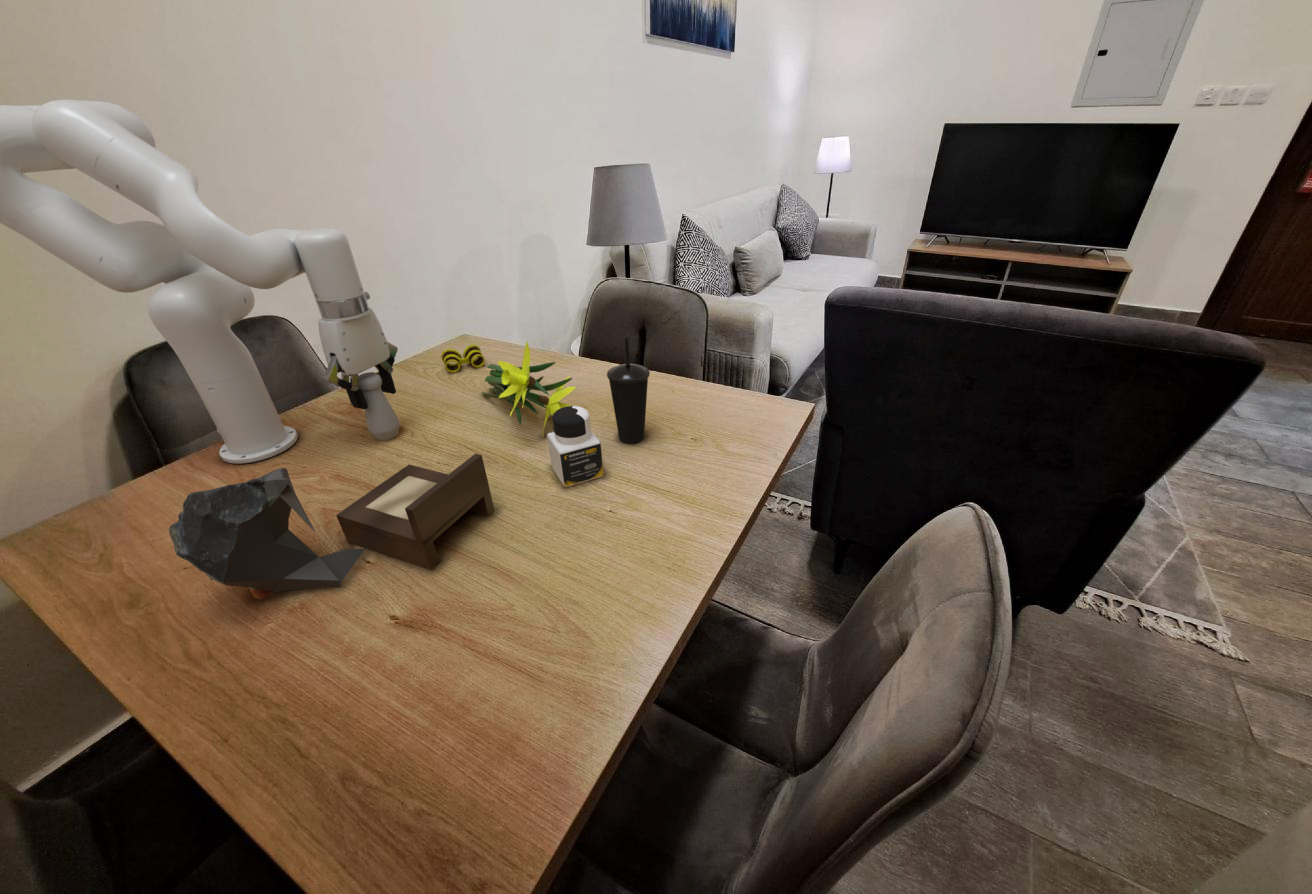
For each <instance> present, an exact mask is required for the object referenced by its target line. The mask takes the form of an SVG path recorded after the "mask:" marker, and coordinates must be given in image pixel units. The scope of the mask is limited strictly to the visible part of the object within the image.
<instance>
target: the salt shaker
mask: <svg viewBox="0 0 1312 894" xmlns="http://www.w3.org/2000/svg"><path fill="white" fill-rule="evenodd" d="M381 385H382V379H381V377H380V375H379V374H377V372H375V371H369V372H364V373H363V372H362V373H360V374H358V388H359V389H362V391H363V394H364V397H365V399H366V402H367V405H368V408H367V409H365V410H364V414H365V420H366V427H367V431H368V432H369V433H370V435H372V436H373V437H374V439H376V440H379V441H381V442H382V441H388V440H392V439H394V438H395V437H397V436H398V435H399V434H400V433H399V432H400V427H401V426H400V425H401V420H400V418H399V417H398V415H397V413H396V412H395V410H394V408H393V407H392V405H391V403H390V402H389V400H388V398H387V397H386V395H385V392H383V391H382V390H381V387H380V386H381Z"/></svg>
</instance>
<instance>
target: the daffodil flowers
mask: <svg viewBox="0 0 1312 894" xmlns="http://www.w3.org/2000/svg"><path fill="white" fill-rule="evenodd" d="M530 364H531V349H530V346H529V342H528V341H525V345H524V351H523V356H522V362H521V366H517V365H515V364H513V363H510V362H507V361H502V360H497V364H494V363H489V364H488V365H487V367H486V368H487V369H491V370H490V371H489V375H486V377H485V379H484V382H487V383H488V385H490V387H489V388H488V390H489V391H491V392H493V393H495V394H493V393H487V392H484V391H483V392H482V391H481V392H480V393H481V395H483V396H486V397H490V398H495V399H499V400H500V401H501V400H506V401H507V402H508V404H510V405H511V406H512V409H511V411H510V413H509V417H511V416H512V414H513V412H514V411H515V415H516V418H517V421H518V425H519V426H522V421H523V414H522V410H521V409H520V408H519V407H518V406H517V405H518V403H520V404H522V406H521V407H522V409H523V408H524V406H525V407H526V408H527V409H528V410H530V411H531V412H533V413H534V414H535V415H538V416H539V412H538V411H537V409H536V408H535V407H534V406H533V404H532V403H534V404H535V405H537V406H539V407H541V408H544V409H545V411H544V413H545V414H544V415H545V416H544V421H543V429H542V435H541V436H542V438H543V437H544V434H545V431H544V430H545V426H546V423H547V420H548V418H550V415H551V416H552V415H553V414H554V413H555V411H557V410H558V409H560V408H563V407H567V406H572V405H571V404H570V403H564V402H560V401H561V400H563V399H564V398H566V396H568V395H569V394H570V393H571V392H573V391H574V390H575V389H576V388H577V386H568V387H565V385H566V384H567V383H569V382H570V381H572V380H573V377H571V375H568V376H567V377H565V378H564V379H563V380H560V381H558V382H554V383H550V384H545V385H542V384H540V382H541V381H542V380H543V379H544V378H545V376H544V375H542V376H540V377H538V378H536V379H535V377H534V376H531V375H530V373H531V374H532V373H540V372H542V371H544V370H546V369H547V370H548V369H549V368H550V367H552V366H554V365H555V364H556V361H552V362H551V361H550V362H547V363H542V364H536V365H530ZM491 387H493V388H491ZM553 390H555V391H553ZM532 391H538V392H542V393H543V394H545V395H542V394H538V393H535V392H532ZM549 391H553V393H552V394H551V396H550V394H549ZM546 395H547V396H546ZM548 396H549V397H548ZM513 401H514V402H513ZM529 401H530V402H529Z"/></svg>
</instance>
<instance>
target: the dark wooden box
mask: <svg viewBox="0 0 1312 894" xmlns="http://www.w3.org/2000/svg"><path fill="white" fill-rule="evenodd" d="M488 480H489V479H488V475H487V471H486V466H485V463H484V458H483V455H482V454H480V453H474V454H472V455H471V456H470V457H469V458H467V460H465V461H464V462H463V463H461V464H460V465H459V466H457V467H456V468H455V469H453V470H452V471H450V473H444V472H441V471H438V470H433V469H429V468H425V467H421V466H418V465H413V464H407V465H405V466H404V467H403V468H401V469H400V470H399V471H397V472H396V473H394V474H392V475H391V476H389V478H387V479H386V480H384V481H383V482H381V483H379V485H377V486H375V487H374V488H373V489H371V490H370V491H368V492H367V493H365V494H364V495H362V496H361V497H360V498H358V499H357V500H356V501H354V502H352V503H351V504H350V505H348V506H347V507H345V508H344V509H343V510H341V511H340V512H338V513H336V515H335V517H336V519H337V521H338V524H339V525H340V528H341V530H342V533H343V534H344V537H345V539H346V541H347V543H350V544H353V545H356V546H359V547H362V548H364V549H365V548H366V549H367V550H371V551H374V552H377V553H379V554H383V555H386V556H388V557H391V558H394V559H397V560H401V561H403V562H406V563H410V564H413V565H415V566H419V567H421V568H424V569H428V570H430V571H432V570H434V569H435V568H436V567H437V566H438V565H439V564H440V559H439V556H438V552H437V550H436V546H435V543H434V541H435V540H437V539H438V538H439V537H440V536H441V535H442V534H444V533H445V532H446V531H447V530H448V529H449V528H450V527H451V526H452V525H454V524H455V523H456V522H457V521H458V520H459V519H460V518H461V517H462V516H463V515H465V514H466V513H467V512H472V513H475V514H479V515H482V516H486V517H490V515H492V514H493V513H494V512H495V511H496V509H495V506H494V501H493V497H492V492H491V489H490V483H489V481H488Z"/></svg>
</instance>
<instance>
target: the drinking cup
mask: <svg viewBox="0 0 1312 894" xmlns="http://www.w3.org/2000/svg"><path fill="white" fill-rule="evenodd" d="M629 341H630V339H629V338H628V337H624V354H625V355H624V357H625V363H622V364H619V365H615V366H613V367H611V368H610V369H608V370H607V372H606V378H607V379H608V382H609V387H610V393H611V399H612V404H613V410H614V417H615V423H616V429H617V435H618V439H619V441H620V442H621V443H623V444H627V445H635V444H639V443H641V442H642V441H643V440H644V439H645V429H646V428H645V426H646V415H647V414H646V413H647V400H648V385H649V382H648V381H649V377H650V373H651V372H650V370H649V368H647V367H646V366H644V365H641V364H636V363H630V362H631V361H630V360H631V359H630V344H629V343H630V342H629Z"/></svg>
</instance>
